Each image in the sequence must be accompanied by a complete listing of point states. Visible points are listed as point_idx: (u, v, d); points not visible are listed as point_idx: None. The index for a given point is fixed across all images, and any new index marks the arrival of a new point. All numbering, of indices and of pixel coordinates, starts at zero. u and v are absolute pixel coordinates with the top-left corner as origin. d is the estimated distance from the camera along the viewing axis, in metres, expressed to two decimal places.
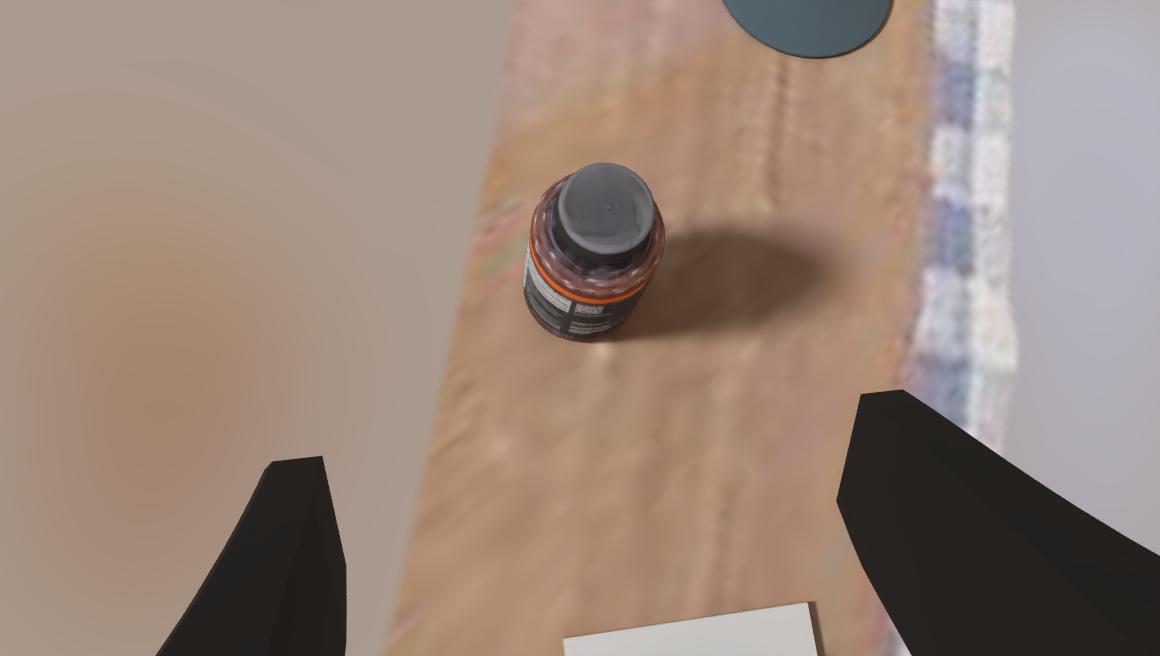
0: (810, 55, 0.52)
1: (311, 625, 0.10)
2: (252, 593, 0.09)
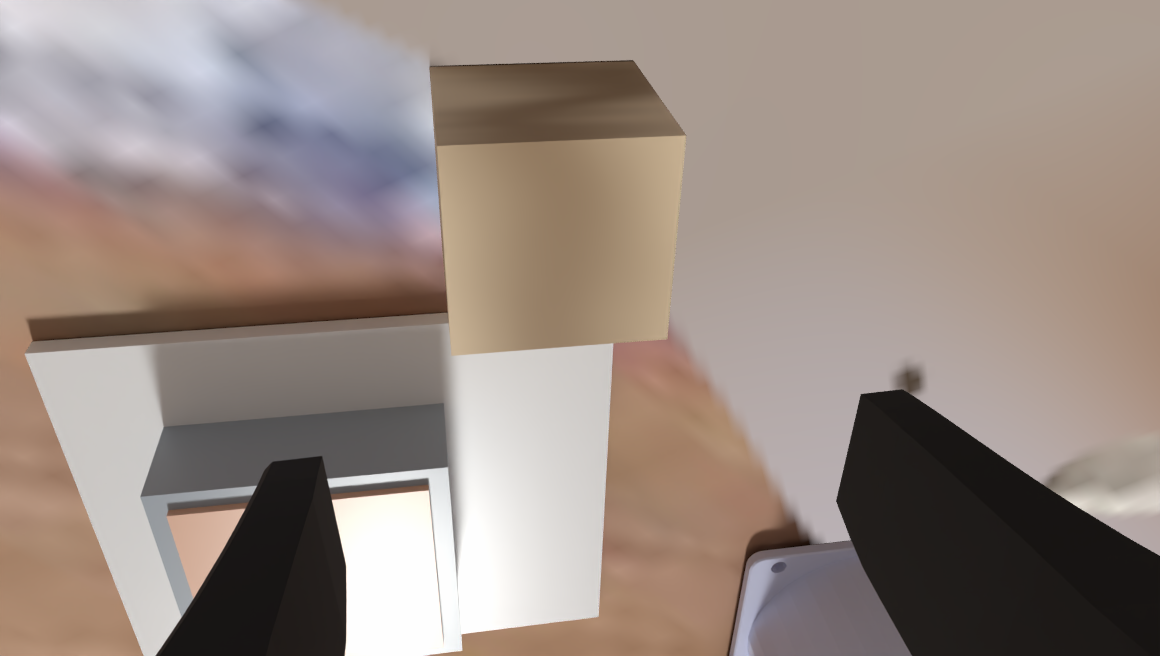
0: None
1: (311, 625, 0.10)
2: (252, 593, 0.09)
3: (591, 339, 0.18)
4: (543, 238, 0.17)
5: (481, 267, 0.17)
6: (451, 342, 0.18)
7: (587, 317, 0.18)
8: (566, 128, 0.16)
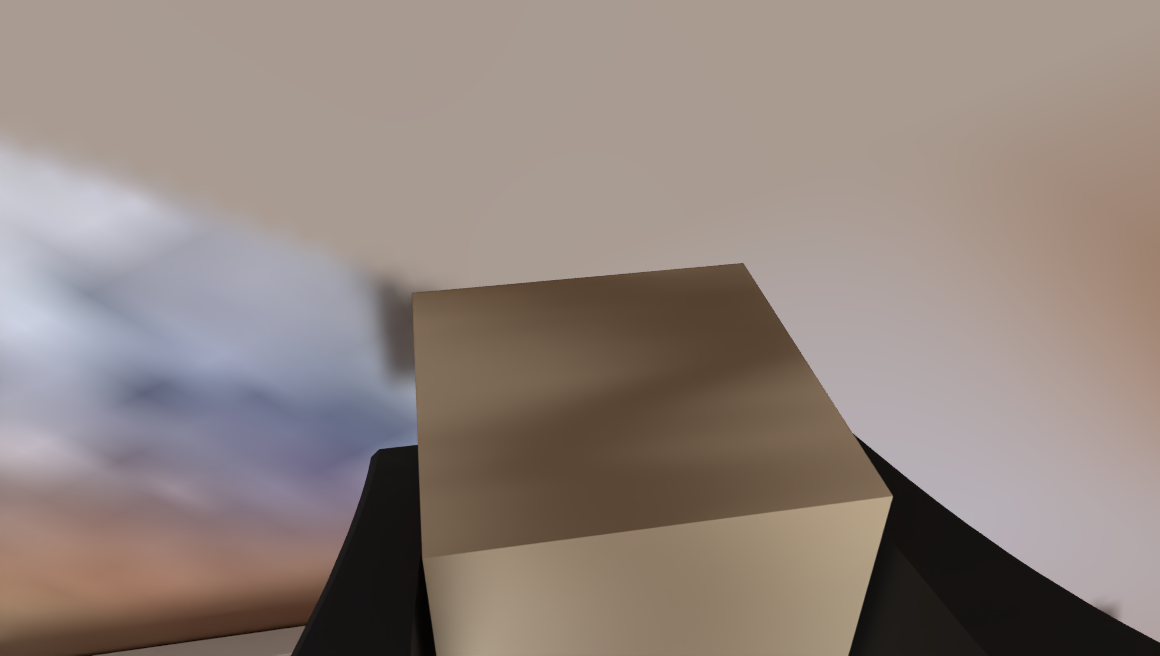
0: None
1: None
2: (386, 575, 0.09)
3: None
4: None
5: None
6: None
7: None
8: (665, 480, 0.09)
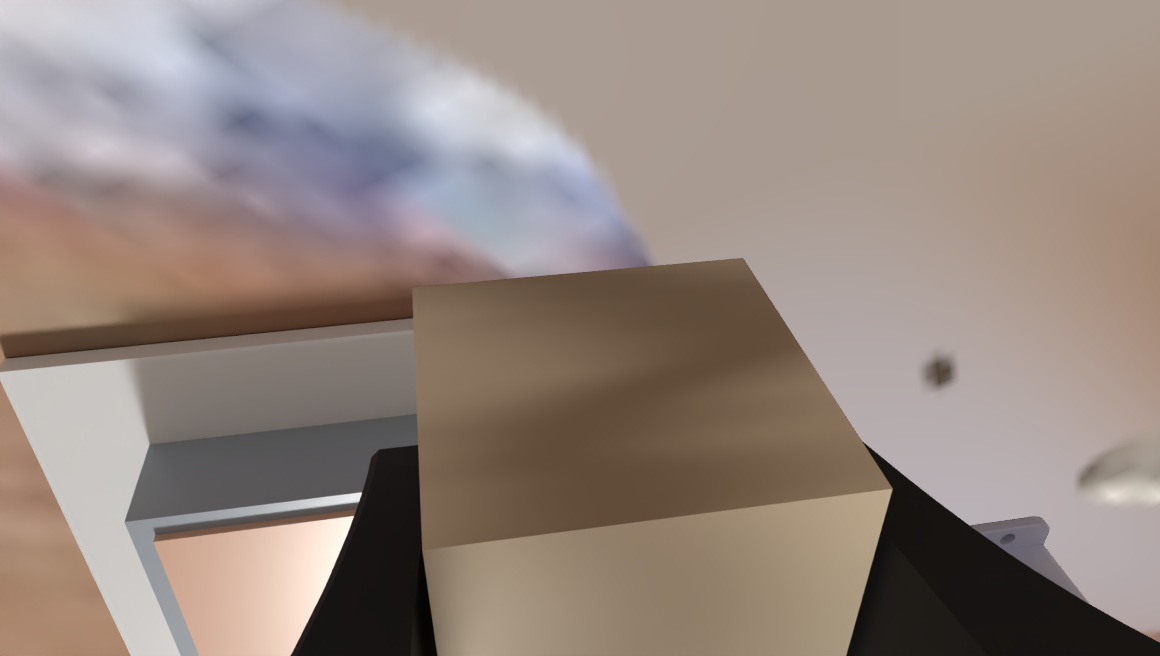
0: None
1: (430, 608, 0.10)
2: (386, 575, 0.09)
3: None
4: (620, 653, 0.09)
5: None
6: None
7: None
8: (666, 473, 0.09)
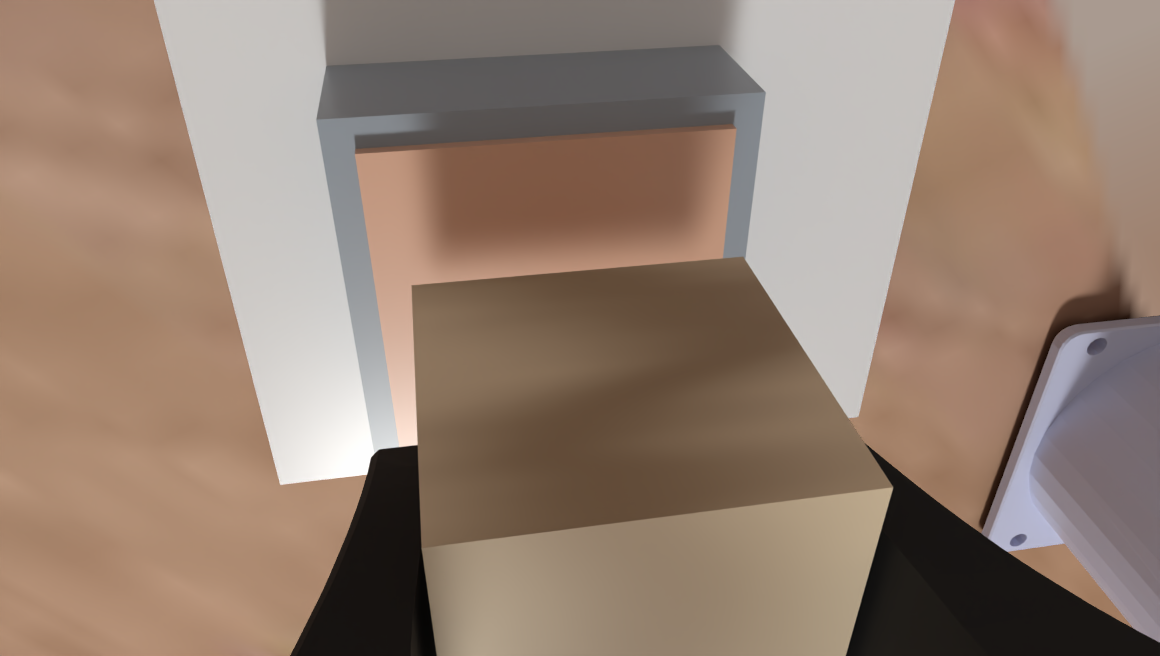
0: None
1: None
2: (386, 575, 0.09)
3: None
4: (620, 652, 0.09)
5: None
6: None
7: None
8: (665, 471, 0.09)
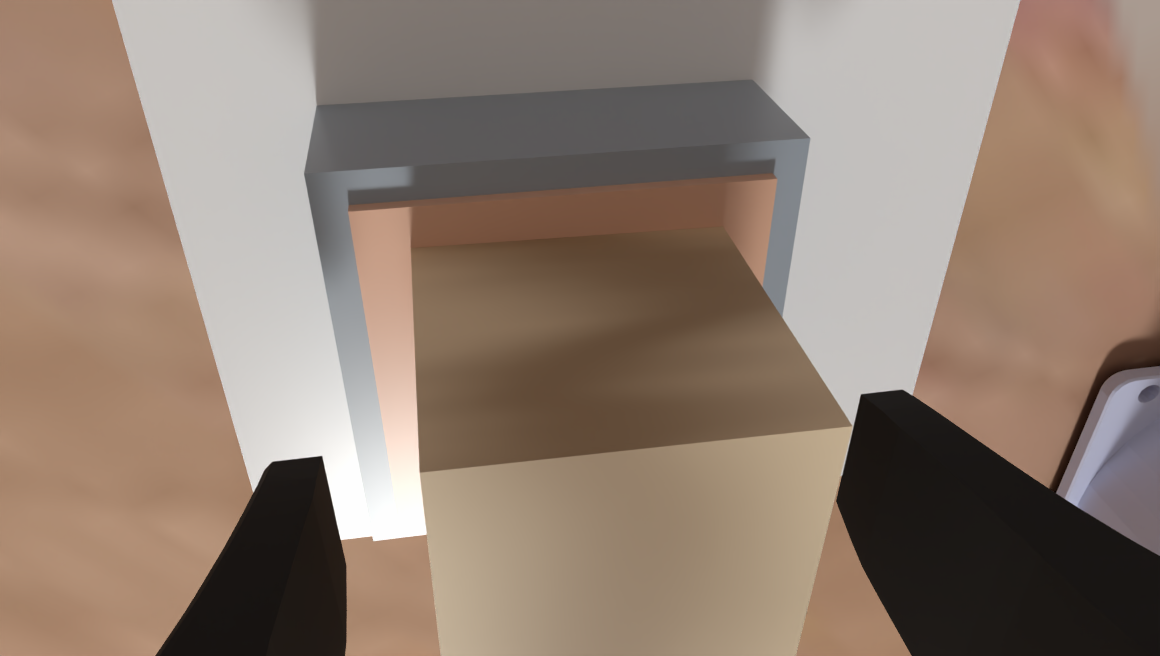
0: None
1: (311, 625, 0.10)
2: (252, 593, 0.09)
3: None
4: (601, 580, 0.10)
5: (497, 626, 0.10)
6: None
7: None
8: (644, 410, 0.10)
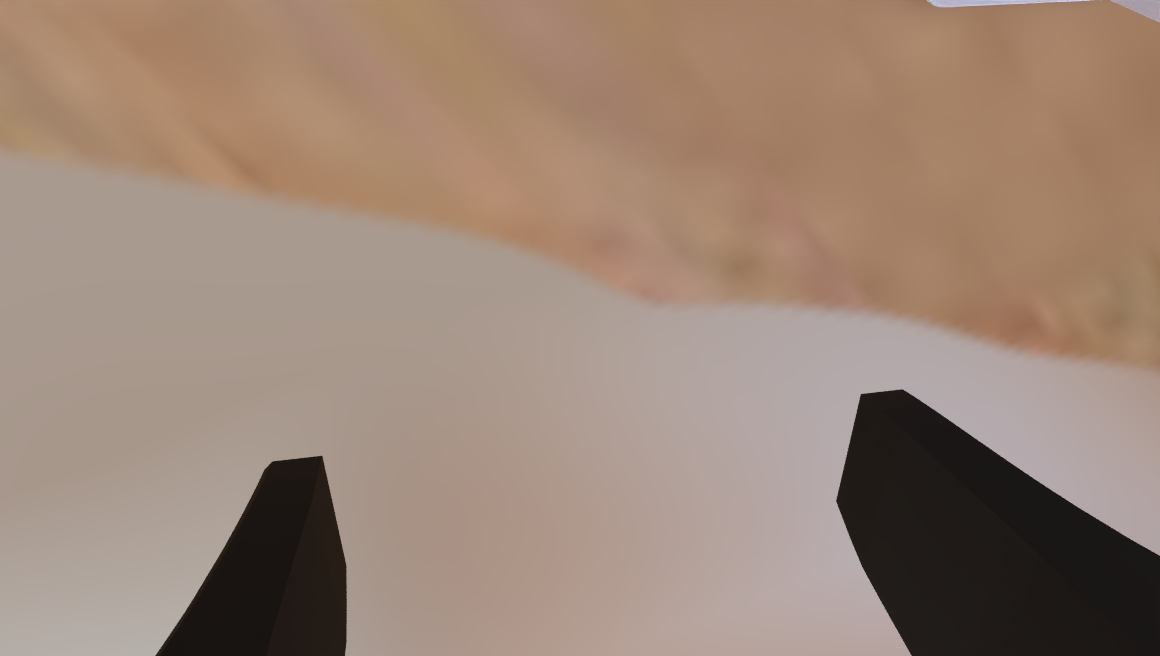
0: None
1: (311, 625, 0.10)
2: (252, 593, 0.09)
3: None
4: None
5: None
6: None
7: None
8: None
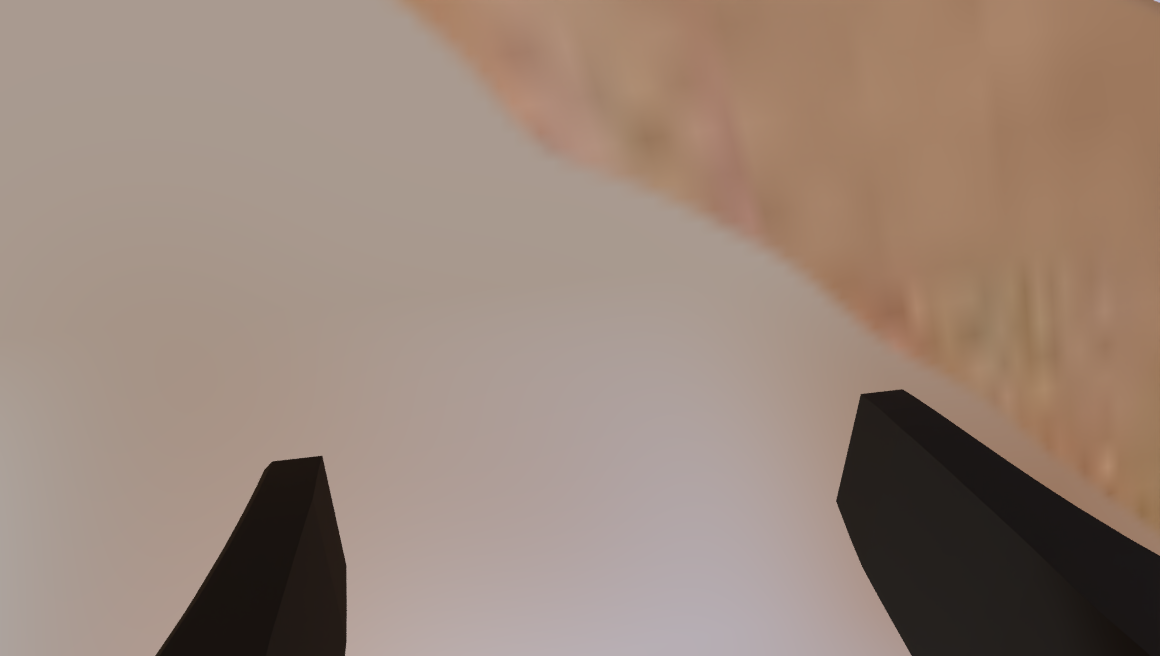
0: None
1: (311, 625, 0.10)
2: (252, 593, 0.09)
3: None
4: None
5: None
6: None
7: None
8: None
